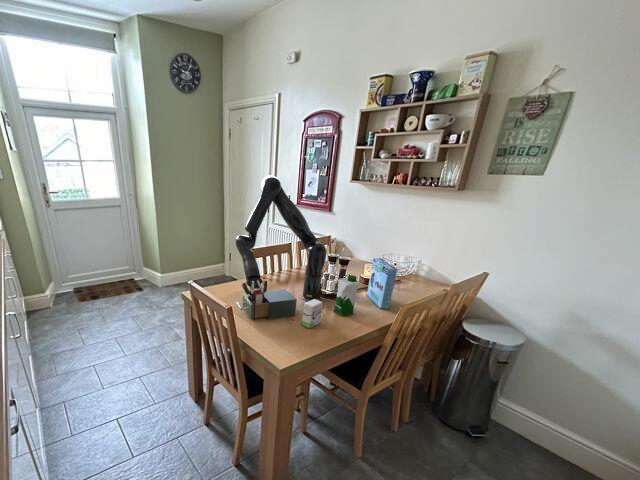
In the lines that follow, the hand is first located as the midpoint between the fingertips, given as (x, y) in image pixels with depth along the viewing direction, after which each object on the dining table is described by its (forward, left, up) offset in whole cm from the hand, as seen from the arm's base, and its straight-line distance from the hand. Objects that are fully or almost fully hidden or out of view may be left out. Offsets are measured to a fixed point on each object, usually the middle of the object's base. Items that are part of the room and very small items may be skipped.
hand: (258, 300), depth 164 cm
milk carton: (-45, +8, -9) cm, 47 cm away
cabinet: (-11, -2, -9) cm, 14 cm away
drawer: (+1, -2, -8) cm, 8 cm away
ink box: (-22, +15, -9) cm, 28 cm away
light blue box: (-72, +1, -9) cm, 73 cm away
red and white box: (0, -2, -6) cm, 6 cm away
